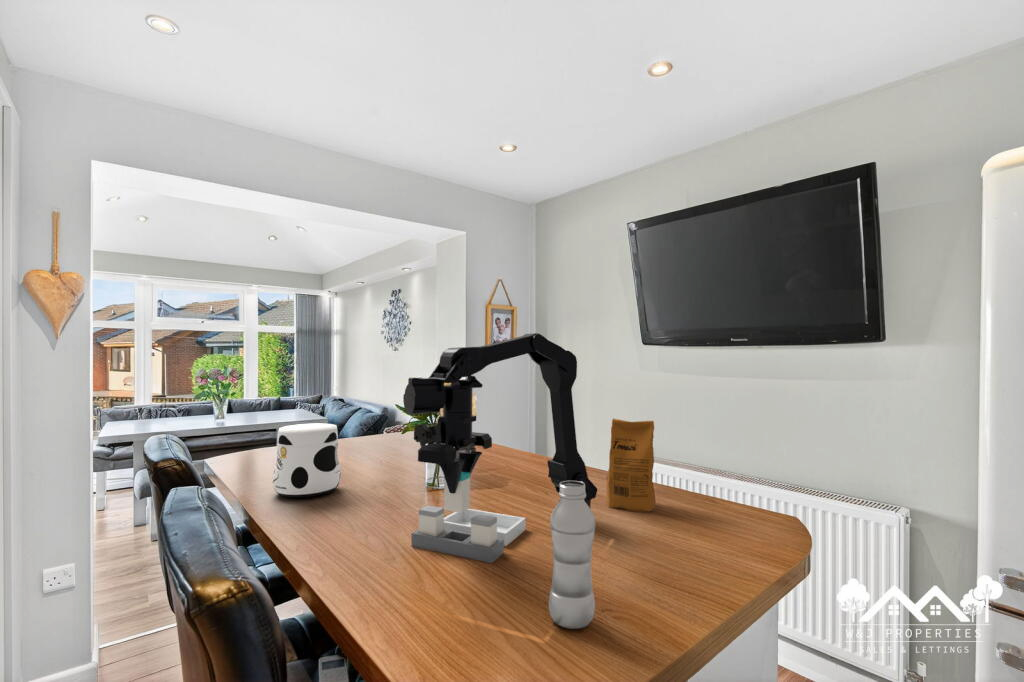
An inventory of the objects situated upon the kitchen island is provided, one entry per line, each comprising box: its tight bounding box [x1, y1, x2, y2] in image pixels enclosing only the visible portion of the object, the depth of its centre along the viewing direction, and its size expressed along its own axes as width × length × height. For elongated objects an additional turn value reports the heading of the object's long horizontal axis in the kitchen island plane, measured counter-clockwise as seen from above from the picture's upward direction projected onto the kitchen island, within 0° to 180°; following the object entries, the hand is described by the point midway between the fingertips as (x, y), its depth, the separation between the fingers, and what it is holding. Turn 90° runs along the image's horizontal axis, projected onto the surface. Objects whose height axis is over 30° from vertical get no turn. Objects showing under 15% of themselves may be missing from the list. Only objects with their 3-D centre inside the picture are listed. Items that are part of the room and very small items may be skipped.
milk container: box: [272, 422, 342, 498], centre depth 133 cm, size 17×17×18 cm
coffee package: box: [606, 417, 657, 512], centre depth 124 cm, size 10×12×22 cm
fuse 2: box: [471, 514, 497, 547], centre depth 92 cm, size 4×3×7 cm
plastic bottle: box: [548, 481, 597, 630], centre depth 70 cm, size 6×7×20 cm
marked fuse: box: [443, 472, 471, 513], centre depth 94 cm, size 4×3×7 cm
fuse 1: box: [418, 504, 445, 536], centre depth 97 cm, size 4×3×7 cm
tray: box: [444, 508, 527, 547], centre depth 104 cm, size 16×10×3 cm, turn 65°
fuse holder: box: [411, 528, 505, 564], centre depth 94 cm, size 18×5×3 cm, turn 65°
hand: (457, 490), depth 94 cm, fingers closed on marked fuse, 3 cm apart
